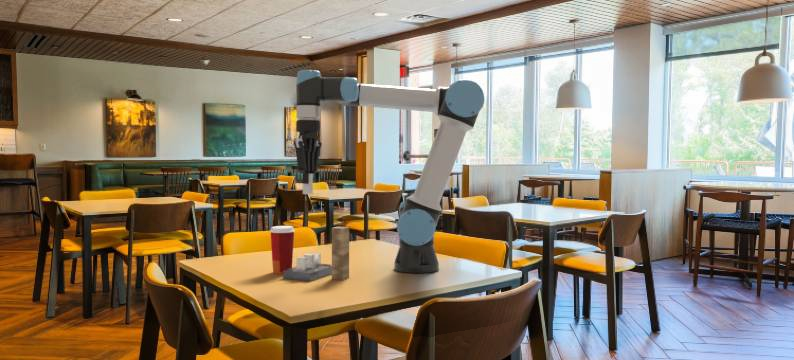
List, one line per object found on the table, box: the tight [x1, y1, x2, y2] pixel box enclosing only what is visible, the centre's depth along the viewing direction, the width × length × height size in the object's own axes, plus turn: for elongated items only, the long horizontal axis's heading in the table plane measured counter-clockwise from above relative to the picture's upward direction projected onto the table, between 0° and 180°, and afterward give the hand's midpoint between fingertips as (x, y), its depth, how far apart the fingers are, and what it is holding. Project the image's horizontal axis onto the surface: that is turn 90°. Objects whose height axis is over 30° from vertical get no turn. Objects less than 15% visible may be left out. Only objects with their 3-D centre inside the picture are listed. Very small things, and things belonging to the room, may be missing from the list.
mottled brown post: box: [331, 226, 350, 281], centre depth 184 cm, size 4×4×16 cm
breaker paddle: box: [303, 253, 314, 268], centre depth 188 cm, size 3×2×4 cm, turn 66°
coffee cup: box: [268, 225, 296, 275], centre depth 193 cm, size 8×8×15 cm
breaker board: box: [282, 252, 332, 282], centre depth 188 cm, size 10×14×6 cm
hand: (307, 193), depth 187 cm, fingers closed
